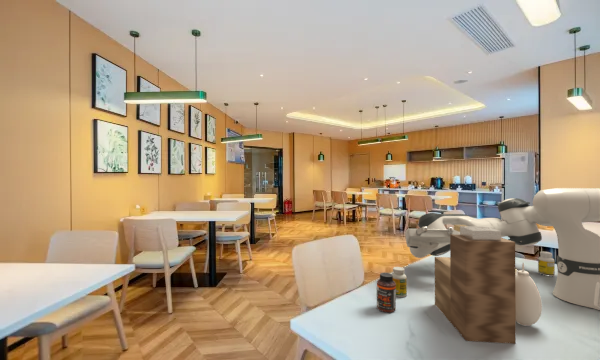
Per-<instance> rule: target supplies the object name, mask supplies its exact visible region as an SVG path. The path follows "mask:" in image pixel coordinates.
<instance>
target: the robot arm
mask: <svg viewBox="0 0 600 360" xmlns="http://www.w3.org/2000/svg"><path fill="white" fill-rule="evenodd" d="M530 204H531V202H530V201H525V200H524V199H522V198H514V197H513V198H512V197H511V198H506V199H504V200H503V201H501V202H500V203H498V204H497V210H498V212H499V213H500V216H501V219H500V218H497V217H483V218H474V217H472V216H469V215H467V214H462V213H437V212H436V213H435V212H428V213H425V214H423V215H421V216H420V217H419V219H418V221H417V222H418V223H417V225H418V227H419V228H407V229H406V230H405V233H404V235H405V236H404V237H405V242H406V247H408V248H409V252H410V254H411V256H413V257H415V258H418V259H421V258H425V257H427V256H429V255H430V256H434V257H440V256H442V255H445V254H447V253H450V234H457V235H460V232H458V231H456V230H454V225H466V226H475V227H489V228H492V229H495V230H499V231H501V238H504V237H507V238H508V239H507V240H510V241H513V242H515V245H518V246H523V247H524V246H525V247H528V246H530V247H531V246H534V245H536V244H538V243H539V242H541V241H542V239H543V238H542V237H543V236H542V233H541V231H540V230H539V227H538V225H540V226H544V227H552V228H553V229H554V231H555V233H556V237H557V246H558V247H557V249H558V250H557V251H558V255H556V269H557V275H556V276H557V277H556V281H555V285H554V288H553V291H552V295H553V296H554V297H556V298H558V299H560V300H562V301H565V302H568V303H571V304H574V305H577V306H582V307H585V308H586V307H587V308H590V309H595V310H598V311H600V235H599V234H597V233H595V232H594V231H591V230H589V229H586V228H585V227H584V224H583V223H593V222H594V223H595V222H600V188H599V187H598V188H596V187H593V188H592V187H588V188H587V187H554V188H552V187H551V188H548V189H540V190H539V191H538V192H536V193H535V195H534V196H533V199H532V206H531V205H530ZM537 224H538V225H537ZM445 225H451V227H450V226H449V227H447V228H446V226H445Z"/></svg>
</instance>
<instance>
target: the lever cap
mask: <svg viewBox="0 0 600 360" xmlns="http://www.w3.org/2000/svg"><path fill="white" fill-rule="evenodd" d="M453 229H454V230H456V231H458V232H460V235H462V236H464V237H466V238H469V239H471V240H492V241H501V238H502V237H501V231H499V230H495V229H492V228H489V227H475V226H466V225H453Z"/></svg>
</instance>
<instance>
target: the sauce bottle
mask: <svg viewBox="0 0 600 360" xmlns="http://www.w3.org/2000/svg"><path fill="white" fill-rule="evenodd" d="M521 265H522V267H521V269H520V270H517V272H516V273H515V298H516V323H518V324H519V325H520V326H523V327H528V326H529V327H530V326H532V325H535V324H536V323H537V322H538V321H539V319H540V318H541V316H542V311H543V304H542V303H543V302H542V297H541V294H540V291H539V289H538V286H537V285H536V283H535V281H534V279H533V278H532V277H531V276H530V273H529V272H528V271H527V270H525V264H524V262H522V264H521Z"/></svg>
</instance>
